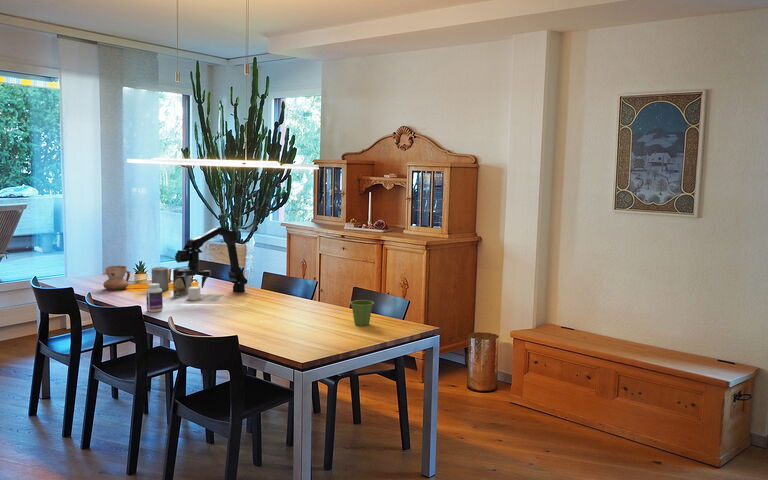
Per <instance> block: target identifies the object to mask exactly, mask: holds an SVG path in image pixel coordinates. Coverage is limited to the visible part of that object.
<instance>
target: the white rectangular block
mask: <svg viewBox="0 0 768 480" xmlns="http://www.w3.org/2000/svg"><path fill="white" fill-rule="evenodd" d="M200 294H201V286H191V287H190V288H188V295H187V297H188V298H187V299H188V300H199V299H200Z"/></svg>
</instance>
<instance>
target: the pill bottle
mask: <svg viewBox="0 0 768 480" xmlns="http://www.w3.org/2000/svg"><path fill="white" fill-rule="evenodd" d="M159 287H160V284H158V283H153V284H152V283H149V284H148V288H147V289H146V291H145V292H146V293H145V294H146V295H145V296H146V311H147V312H148V311H149V313H158V312H159V313H160V312H162V311H163V309H164V308H163V307H164V306H163V304H164V303H163V291H162V289H161V288H159Z"/></svg>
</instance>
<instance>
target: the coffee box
mask: <svg viewBox="0 0 768 480" xmlns="http://www.w3.org/2000/svg"><path fill="white" fill-rule="evenodd" d="M186 269H187V268H184V267H183V268H182V267H176V268H174V269H173V270H172V278H173V279H172V280H173V281H172V284H173V285H172V286H173V287H172V289H173V290H172V291H173V292H172V293H173V294H172V296H173V297H181V296H188V288H190V287H192V276H187V275H186V280H187V288H185V286H184V283H183V281H182V279H181V278H180V277H179V276H176V272H177V271H178V270H185V271H186Z"/></svg>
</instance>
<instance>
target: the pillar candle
mask: <svg viewBox="0 0 768 480" xmlns="http://www.w3.org/2000/svg"><path fill="white" fill-rule="evenodd" d="M153 283H158V284H160V287H159V288H161V289H162V292H167V291H169V286H170V285H169V268H168V267H163V266H159V267H152V268H151V284H153Z"/></svg>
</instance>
